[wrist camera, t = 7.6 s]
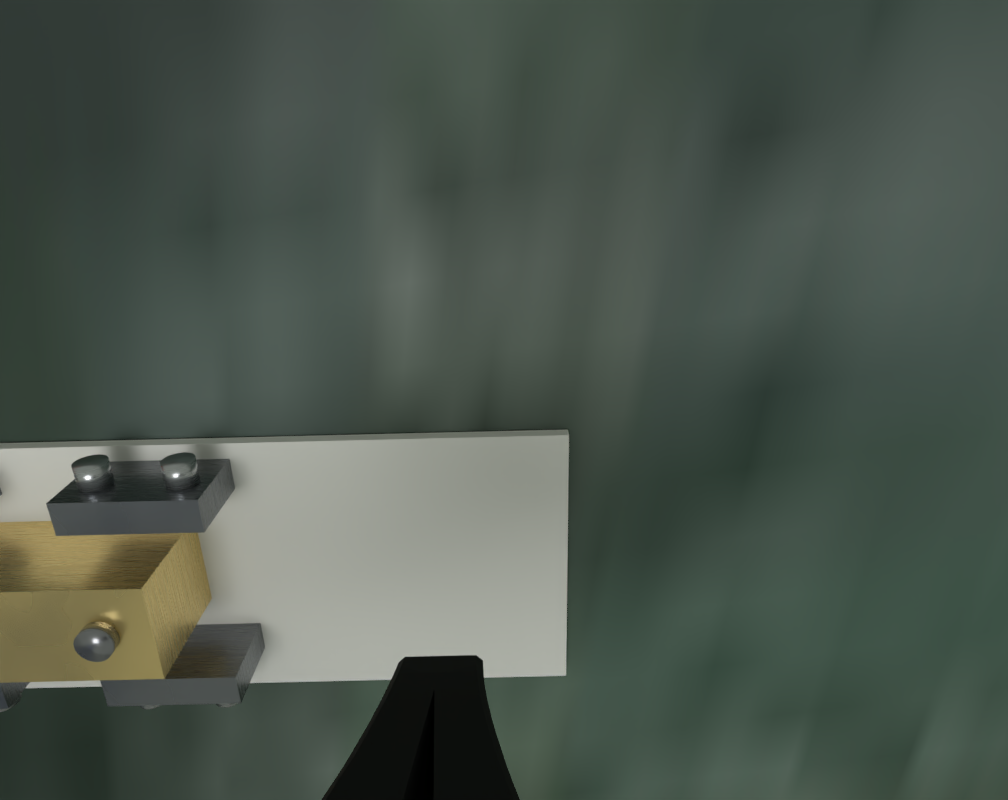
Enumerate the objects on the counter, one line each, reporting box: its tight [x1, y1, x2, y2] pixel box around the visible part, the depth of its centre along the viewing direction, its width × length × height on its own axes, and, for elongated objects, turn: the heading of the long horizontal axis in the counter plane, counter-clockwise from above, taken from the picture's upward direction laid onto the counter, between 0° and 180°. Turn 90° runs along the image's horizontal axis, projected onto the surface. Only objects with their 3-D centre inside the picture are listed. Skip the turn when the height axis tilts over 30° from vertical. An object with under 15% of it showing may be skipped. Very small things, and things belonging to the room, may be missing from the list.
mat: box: [0, 429, 569, 688], centre depth 23 cm, size 9×23×1 cm, turn 91°
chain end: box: [46, 452, 265, 709], centre depth 21 cm, size 8×4×2 cm, turn 1°
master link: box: [0, 521, 212, 683], centre depth 20 cm, size 3×8×4 cm, turn 91°
